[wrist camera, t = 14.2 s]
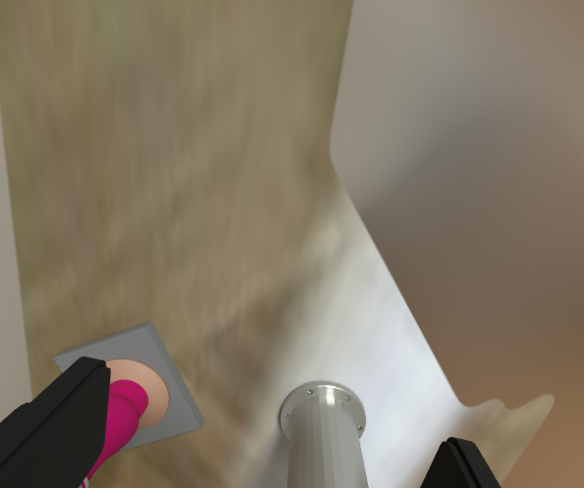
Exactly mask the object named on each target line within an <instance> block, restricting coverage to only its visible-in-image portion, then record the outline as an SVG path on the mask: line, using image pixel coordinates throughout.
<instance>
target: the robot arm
mask: <svg viewBox="0 0 584 488" xmlns="http://www.w3.org/2000/svg"><path fill="white" fill-rule="evenodd" d="M110 379H111V369H110V368H108V367H106V362H105V361H104V360H100V359H95V358H91V357H86V356H82V357H80V358H79V359H77V360H76V361H75V362H74V363H73V364H72V365H71V366H70V367H69V368H68V369H66V370H65V371H64V372H63V373H62V374H61V375H60V376H59V377H58V378H57V379H56V380H54V381H53V382H52V383H51V384H50V385H49V386H48V387H47V388H46V389H45V390H43V391H42V392H41V393H40V394H39V395H38V396H37V397H36V398H35V399H34V400H33V401H31V402H30V403H25V404H23V405H21V406H19V407H18V408H17V409H15V410H14V411H13V412H12V413H11V414H10V415H9V416H7V417H6V418H5V419H4V420H3V421H2V422H1V423H0V488H79V487H80V485H81V484H82V482H83V481H84V479H85V478H86V476H87V475H88V473H89V472H90V470H91V469H92V467H93V466H94V464H95V463H96V461H97V460H98V458H99V457H100V455H101V453H102V450H103V448H104V445H105V436H106V425H107V413H108V402H109V390H110ZM280 423H281V428H282V431H283V433H284V435H285V437H286V438H287V439H288V441H289V442H290V444H289V463H288V482H287V488H369V487H368V482H367V477H366V472H365V466H364V461H363V456H362V451H361V446H360V441H359V439H360V437H361V436H362V434H363V432H364V430H365V425H366V416H365V411H364V408H363V405H362V403H361V401H360V400H359V398H358V397H357V396H356V395H355V394H354V393H353V392H352V391H351V390H349V389H348V388H346V387H344V386H342V385H339V384H336V383H332V382H323V381H322V382H313V383H309V384H305V385H303V386H301V387H299V388H297V389H296V390H294V391H293V392H292V393H291V394H290V395H289V396H288V397H287V398H286V400H285V401H284V403H283V406H282V409H281V416H280ZM420 488H501V487H500V485H499V483H498V481H497V480H496V478H495V476H494V475H493V473H492V471H491V470H490V468H489V466H488V464H487V463H486V461H485V459H484V458H483V456H482V454H481V453H480V451H479V449H478V448H477V446H476V445H475V443H473V442H472V441H468V440H463V439H459V438H454V437H450V438H448V439H447V441H446V442H445V441H444V442H442V443H441V445H440V447H439V449H438V451H437V453H436V455H435V457H434V460H433V462H432V464H431V466H430V468H429V470H428V472H427V474H426V477H425V479H424V481H423V483H422V485H421V487H420Z"/></svg>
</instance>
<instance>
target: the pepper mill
mask: <svg viewBox="0 0 584 488" xmlns="http://www.w3.org/2000/svg"><path fill="white" fill-rule="evenodd" d="M148 402H149V401H148V395H147V393H146V391H145V390H144V388H143V387H141V386H140V385H139V384H138V383H136V382H134V381H131V380H117V381H114V382H113V383H111V384H110V390H109V402H108V413H107V425H106V436H105V445H104V448H103V450H102V453H101V455H100V457H99V458H98V460H97V461H96V463H95V464H94V466H93V467H92V469H91V470H90V472H89V473H88V475H87V476H86V478H85V479H84V481H83V482H82V484H81V485H80V487H79V488H89V481H90V479H91V477H92V475H93V474H94V473H95V471H96V470H97V469H98V468H99V466H100V465H101V464H102V463H103V462H104V461H105V460H106V459H108V458H109V457H110V456H112V455H113V454H115V453H116V452H118V451H119V450H120V449H122V448H123V447H124V446H125V445H126V444H127V443H128V442H129V441H130V440H131V438H132V437H133V436H134V434H135V433H136V431H137V429H138V425H139V419H140V418H141V416H142V415H143V413H144V411H145V410H146V408H147V406H148Z"/></svg>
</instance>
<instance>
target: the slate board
mask: <svg viewBox="0 0 584 488" xmlns="http://www.w3.org/2000/svg"><path fill="white" fill-rule="evenodd" d="M82 356H86V357H91V358H95V359H100V360H104V361H105V362H106V367H108V368H110V369H111V379H110V384H111V383H113V382H114V381H117V380H131V381H134V382H136V383H138V384H139V385H140V386H141V387H143V388H144V390H145V391H146V393H147V395H148V401H149V402H148V406H147V408H146V410H145V411H144V413H143V415H142V416H141V418H140V419H139V425H138V429H137V431H136V433H135V434H134V436H133V437H132V438H131V440H130V441H129V442H128V443H127V444H126V445H125V446H124V447H123V448H122V449H120V450H119V451H118V452H120V451H123V450H127V449H130V448H134V447H137V446H141V445H144V444H148V443H151V442H155V441H158V440H162V439H165V438H169V437H172V436H176V435H179V434H183V433H186V432H190V431H193V430H197V429H200V428H201V427H202V425H203V422H204V419H203V417H202V415H201V413H200V412H199V410H198V408H197V406H196V404H195V402H194V400H193V399H192V397H191V395H190V393H189V391H188V389H187V387H186V386H185V384H184V382H183V380H182V378H181V376H180V375H179V373H178V371H177V369H176V367H175V365H174V363H173V362H172V360H171V358H170V356H169V354H168V352H167V350H166V349H165V347H164V345H163V343H162V341H161V339H160V337H159V336H158V334H157V332H156V330H155V328H154V326H153V324H152V323H151V321H149V322H146V323H144V324H141V325H138V326H135V327H132V328H129V329H126V330H123V331H120V332H117V333H114V334H111V335H108V336H105V337H103V338H100V339H97V340H94V341H91V342H88V343H85V344H82V345H79V346H76V347H73V348H70V349H67V350H65V351H62V352H60V353H59V354H57V355H56V356H55V357H54V358H53V359H54V360H55V362H56V363H57V365H58V366H59V368H60V370H61V371H62V373H63V372H64V371H65V370H66V369H68V368H69V367H70V366H71V365H72V364H73V363H74V362H75V361H76V360H77V359H79V358H80V357H82Z"/></svg>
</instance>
